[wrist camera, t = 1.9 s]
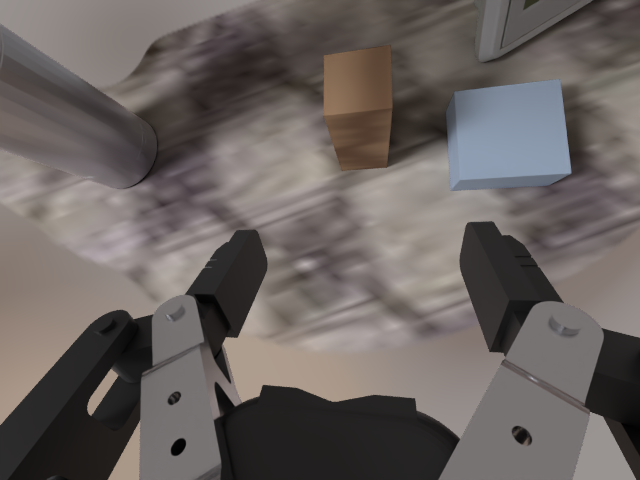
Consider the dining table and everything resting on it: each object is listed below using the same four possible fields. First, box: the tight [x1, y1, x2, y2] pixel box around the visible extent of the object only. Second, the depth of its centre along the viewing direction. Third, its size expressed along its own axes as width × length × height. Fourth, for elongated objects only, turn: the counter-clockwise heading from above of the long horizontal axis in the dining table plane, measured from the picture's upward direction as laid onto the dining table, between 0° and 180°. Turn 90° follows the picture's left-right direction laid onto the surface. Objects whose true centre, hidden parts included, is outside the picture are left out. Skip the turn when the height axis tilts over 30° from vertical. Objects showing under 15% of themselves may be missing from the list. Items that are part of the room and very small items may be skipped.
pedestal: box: [446, 79, 571, 191], centre depth 24 cm, size 8×8×3 cm
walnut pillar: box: [324, 45, 393, 171], centre depth 23 cm, size 4×4×10 cm
